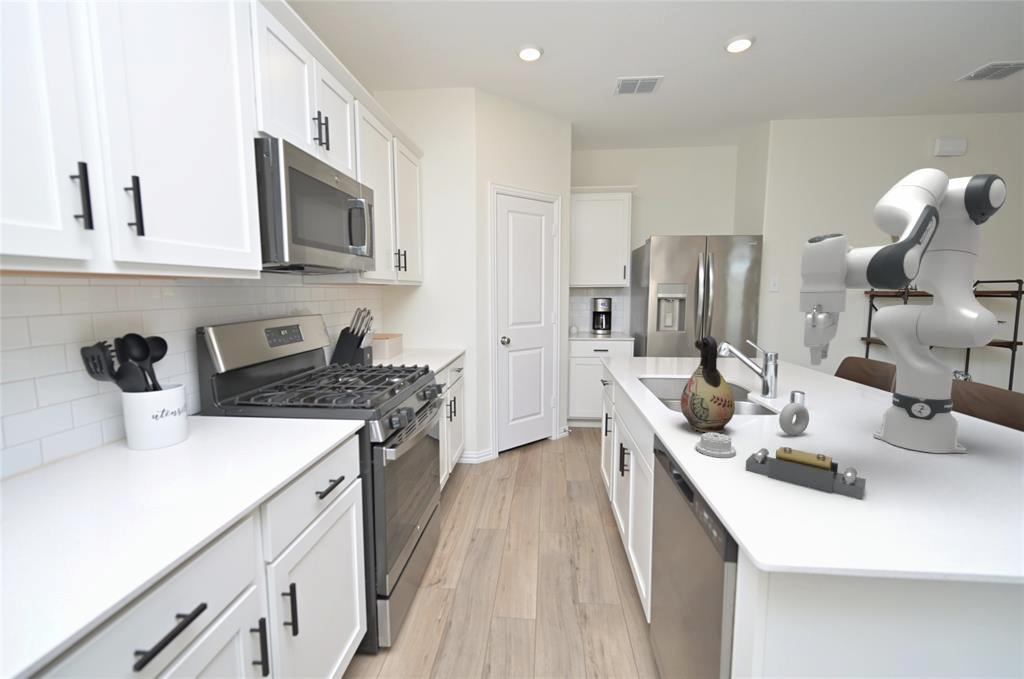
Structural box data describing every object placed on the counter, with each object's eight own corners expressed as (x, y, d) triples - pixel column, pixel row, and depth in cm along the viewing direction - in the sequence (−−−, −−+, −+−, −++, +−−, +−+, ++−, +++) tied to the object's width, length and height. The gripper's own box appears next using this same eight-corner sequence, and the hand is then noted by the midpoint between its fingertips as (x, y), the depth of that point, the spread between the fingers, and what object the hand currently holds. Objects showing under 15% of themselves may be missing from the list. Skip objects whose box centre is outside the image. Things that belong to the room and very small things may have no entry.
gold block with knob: (779, 460, 103) (780, 444, 102) (831, 472, 96) (832, 454, 95) (775, 465, 100) (776, 448, 99) (828, 478, 93) (829, 460, 93)
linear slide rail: (753, 461, 108) (754, 444, 108) (865, 488, 93) (866, 469, 93) (744, 471, 103) (745, 453, 103) (861, 501, 88) (863, 480, 87)
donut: (800, 431, 131) (802, 400, 130) (811, 435, 128) (813, 402, 127) (775, 435, 128) (777, 402, 127) (785, 439, 125) (787, 405, 124)
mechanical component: (700, 457, 112) (741, 460, 110) (700, 441, 112) (741, 443, 110) (691, 444, 122) (729, 446, 120) (692, 429, 122) (730, 431, 120)
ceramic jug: (674, 421, 143) (677, 332, 140) (723, 422, 141) (727, 332, 137) (688, 438, 126) (692, 337, 123) (743, 440, 124) (749, 338, 121)
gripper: (832, 307, 91) (828, 370, 93) (844, 301, 106) (841, 356, 108) (797, 306, 96) (794, 367, 98) (813, 301, 110) (811, 354, 112)
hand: (819, 361), depth 103 cm, fingers open, 8 cm apart
